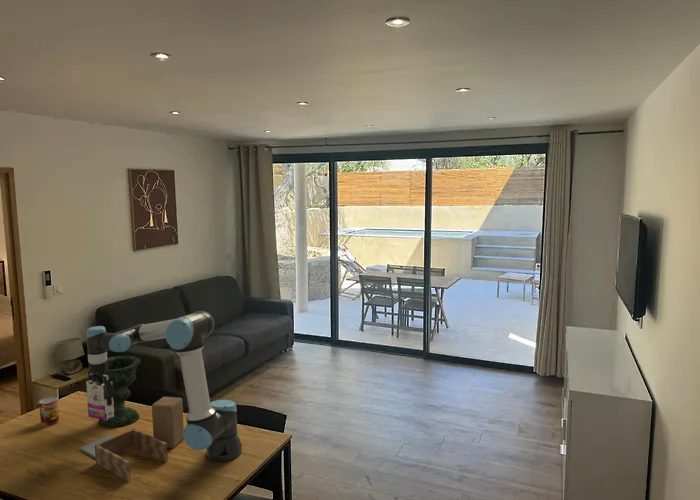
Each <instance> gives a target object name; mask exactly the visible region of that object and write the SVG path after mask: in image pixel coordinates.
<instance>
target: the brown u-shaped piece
mask: <svg viewBox="0 0 700 500" xmlns="http://www.w3.org/2000/svg"><path fill="white" fill-rule="evenodd" d="M133 448H136V449H137V450H141V451H142V452H145V453H146V454H148V455H150V456H153V457H154V458H157V459H159V460H161V461H163V462H165V463H167V462H168V461H169V457H168V448H167V443H165V442H163V441H161V440H159V439H156V438H154V436H153V435H150V434H147V433H145V432H143V431H141V430H138V429H136V428H132V429H129V430H128V431H125V432H123V433H121V434H119V435H116V436H114V437H113V438H111V439H109V440H106V441H104V442H102V443H99V444H97V445H95V455H96V458H95V463H96V464H97V465H98V466H99V467H101V468H103V469H105V470H107V471H109V472H111V473H113V474H114V475H116V476H117V477H119V478H121V479H123V480H124V481H126V482H131V481H132V477H131V462H130V460H128V459H125V458H124V457H122V456H120V454H122V453H124V452H127V451H129V450H130V449H133Z"/></svg>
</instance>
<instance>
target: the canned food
mask: <svg viewBox="0 0 700 500" xmlns="http://www.w3.org/2000/svg"><path fill="white" fill-rule="evenodd" d="M58 404H59V400H58V397H57V396H49V397H45V398H41V399H40V400H39V401H38V407H39V419H40V426H42V427H43V426H45V427H46V428H47V426H48V427H52V425H53V426H55V425H57V424H59V423H60V413H59V405H58ZM45 427H44V428H45Z"/></svg>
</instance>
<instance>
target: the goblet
mask: <svg viewBox="0 0 700 500" xmlns="http://www.w3.org/2000/svg"><path fill="white" fill-rule="evenodd" d="M107 361H108V369H107V370H106V371H105V373H106V375H110V380H111V381H112V382H113V391H114V395H115V396H114V397H113V398H114V414H115V416H114V417H113V418H110V419H108V420H101V419H98V424H99V425H100V426H101V427H102V428H103V427H104V428H119V427H124V426H127V425H130V424H133V423H135V422H137V421H138V420H139V419H140V414H139V412H138V411H137V410H136V409H135V408H133V407H130V406H126V405H125V403H126V401H127V400H128V399H129V397H130V396H131V394H132V393H131V390H130V389H129V388H128V387H129V386H131V385H132V384H133V383H134V382H135V380H136V378H137V377H136V376H137V375H136V372H137V368H138V366H139V365H140V363H141V361H142V360H141V358H139V357H137V356H133V355H118V356H117V355H116V356H112V357H111V356H110V357H107Z"/></svg>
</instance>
